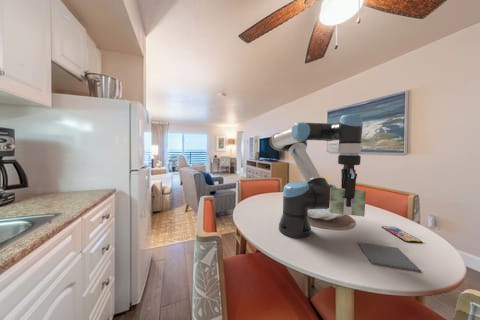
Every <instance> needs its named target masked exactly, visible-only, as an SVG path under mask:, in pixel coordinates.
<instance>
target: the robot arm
mask: <svg viewBox="0 0 480 320" xmlns="http://www.w3.org/2000/svg"><path fill="white" fill-rule="evenodd" d="M363 126H364V125H363V116H362V115H361V114H360V113H349V114H344V115H341V116H340V118H339V122H336V123H335V122H333V123H330V122H329V123H325V122H306V121H305V122H304V121H301V122H295V123H294V124H293V125H292V127H291V128H290V129H287V130H285V131H283V132H276V133H274V134H272V135H271V136H270V137H269V145H270V147H271V148H272V149H273V150H275V151H278V152H287V153H288V155H289V156H290V157H292V158H293V161H294V163H295V165H296V167H297V169H298V171H299V173H300V175H301V177H302V180H303V181H295V182H293V181H291V182H289V183H286V184H285V185H284V186H283V191H282V198H283V199H282V215H281V218H280V220H279V223H278V231H279V232H280V233H281V234H283V235H285V236H288V237H290V238H296V239H304V238H308V237H310V236H311V234H312V226H311V224H310V220H309V210H327V209H328V210H329V205H330V188H338V187H337V186H336V185H335V184H332V183H331V184H329V182H328V181H327V179H326V178H325V177H321V175H320V174H319V172H318V169H317V168H316V166H315V165H314V163H313V161H312V159H311V157H310V156H309V154H308V152H307V151H306V150H307V147H308V141H324V142H332V141H333V142H334V141H338V148H337V149H338V150H337V151H338V156H337V163H338V165H341V166H343V167H342V168H341V170H340V173H341V182H340V183H341V185H340V186H341V188H343V189H345V196H343V198H344V208H343V214H342V215H345V214H347V215H348V216H353V215H352V199H353V198H354V196H355V189H356V184H357V176H358V173H356V169H355V166H359V165H361V159H362V157H361V155H360V154H361V152H362V149H363V145H362V137H363V136H362V135H363Z"/></svg>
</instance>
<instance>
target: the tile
mask: <svg viewBox="0 0 480 320" xmlns="http://www.w3.org/2000/svg"><path fill="white" fill-rule="evenodd" d="M366 194H367V191H366V190H365V189H357V188H355V196H354V198H353V199H352V215H351V216H355V217H363V218H365V214H366V213H365V211H366V196H367V195H366ZM343 196H345V189H343V188H340V187H337V188H330V205H329V208H328V210H329V213H330V214H336V215H337V214H339V215H344V216H345V215H347V214H343V208H344V198H343Z"/></svg>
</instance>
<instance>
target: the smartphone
mask: <svg viewBox="0 0 480 320" xmlns="http://www.w3.org/2000/svg"><path fill="white" fill-rule="evenodd" d="M381 228H382V229H383V230H385V231H386V232H388V233H390V234H391V235H393V236H395V237H396V238H398V239H399V240H401V241H403V242H405V243H406V244H407V243H408V244H423V240H421V239H419V238H418V237H415V236H413V235H412V234H410V233H408V232H406V231H404V230H402V229H400V228H398V227H396V226H385V225H384V226H381Z"/></svg>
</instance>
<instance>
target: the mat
mask: <svg viewBox="0 0 480 320" xmlns="http://www.w3.org/2000/svg"><path fill="white" fill-rule="evenodd" d="M357 244H358V246H359V247H360V249H361V251H362V252H363V253H364V256H366V258H367V260H368V261H369V262H370V265H371V264H372V265H377V266H382V267H387V268H388V267H389V268H393V269H400V270H405V271H412V272H418V273H422V270H421V269H420V268H419V267H418V266H417V265H416V263H414V262H413V261H412V260H411V259H410V258H409V257H408V256H407V254H405V253H404V252H403V251H402V250H401V249H400V248H399V247H394V246H388V245H381V244H375V243H368V242H363V241H361V242H360V241H358V242H357Z"/></svg>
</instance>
